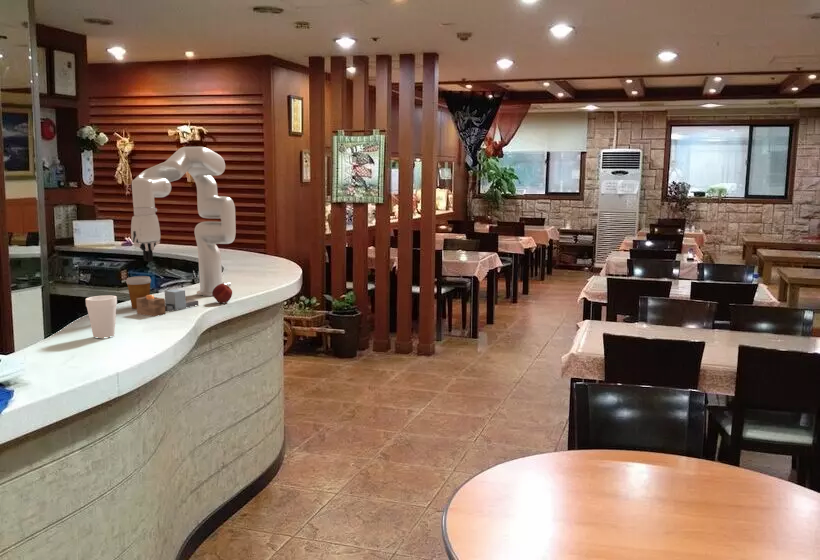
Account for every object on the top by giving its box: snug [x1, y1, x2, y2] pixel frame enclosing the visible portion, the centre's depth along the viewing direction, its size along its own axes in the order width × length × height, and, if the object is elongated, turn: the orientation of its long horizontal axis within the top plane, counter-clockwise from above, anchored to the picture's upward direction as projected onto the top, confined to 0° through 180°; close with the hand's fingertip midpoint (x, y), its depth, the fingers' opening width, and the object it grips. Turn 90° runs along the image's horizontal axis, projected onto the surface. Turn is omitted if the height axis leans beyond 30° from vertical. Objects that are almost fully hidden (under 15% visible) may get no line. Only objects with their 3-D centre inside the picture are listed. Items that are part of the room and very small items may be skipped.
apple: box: [212, 284, 233, 304], centre depth 301 cm, size 7×8×8 cm
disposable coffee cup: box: [125, 275, 152, 310], centre depth 293 cm, size 10×10×12 cm
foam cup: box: [85, 294, 118, 338], centre depth 242 cm, size 10×9×13 cm
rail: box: [165, 299, 199, 312], centre depth 291 cm, size 15×4×2 cm, turn 147°
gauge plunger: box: [146, 294, 155, 300], centre depth 280 cm, size 3×3×4 cm
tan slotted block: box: [136, 296, 166, 317], centre depth 280 cm, size 5×10×6 cm, turn 57°
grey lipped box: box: [164, 288, 187, 310], centre depth 289 cm, size 5×6×7 cm
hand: (148, 260), depth 278 cm, fingers closed
